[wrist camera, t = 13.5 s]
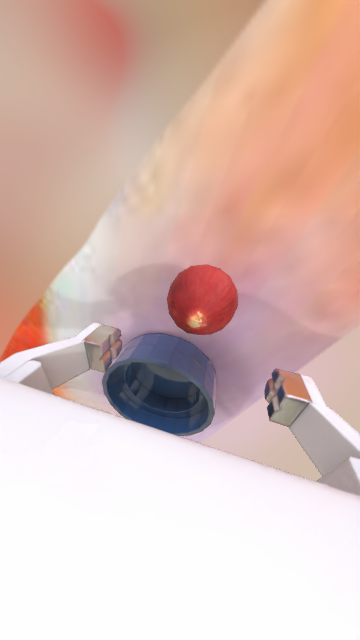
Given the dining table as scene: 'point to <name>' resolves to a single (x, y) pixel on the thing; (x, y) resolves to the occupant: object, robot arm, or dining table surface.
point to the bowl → (162, 384)
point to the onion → (202, 300)
